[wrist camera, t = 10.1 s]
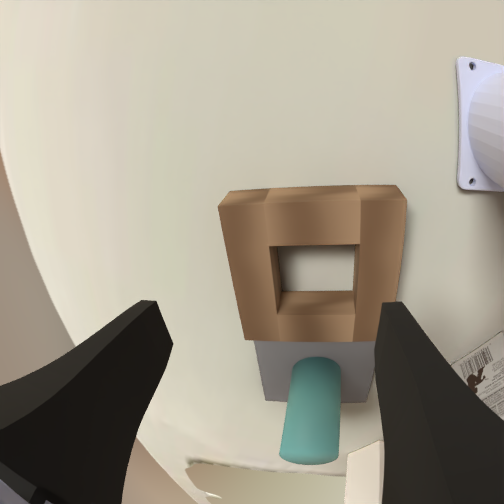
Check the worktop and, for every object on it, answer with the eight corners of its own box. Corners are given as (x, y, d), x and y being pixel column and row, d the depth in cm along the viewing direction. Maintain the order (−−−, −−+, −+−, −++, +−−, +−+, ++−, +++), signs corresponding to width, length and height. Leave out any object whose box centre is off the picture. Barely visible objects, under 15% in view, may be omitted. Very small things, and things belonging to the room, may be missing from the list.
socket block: (396, 185, 16) (406, 200, 14) (383, 316, 21) (387, 340, 19) (229, 191, 19) (217, 206, 16) (252, 316, 23) (245, 340, 21)
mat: (381, 326, 21) (382, 331, 21) (365, 397, 26) (365, 402, 26) (253, 326, 24) (252, 331, 23) (266, 395, 29) (265, 400, 28)
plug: (333, 352, 23) (329, 442, 16) (345, 380, 24) (344, 461, 18) (284, 362, 24) (269, 447, 18) (301, 388, 26) (291, 466, 19)
